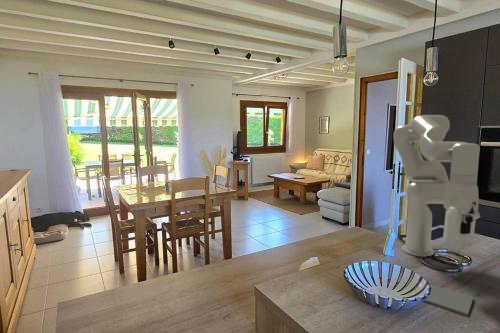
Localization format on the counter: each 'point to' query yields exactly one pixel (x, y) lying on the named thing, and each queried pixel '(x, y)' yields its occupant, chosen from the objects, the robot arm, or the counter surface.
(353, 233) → the counter surface
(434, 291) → the mat
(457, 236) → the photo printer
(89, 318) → the counter surface
